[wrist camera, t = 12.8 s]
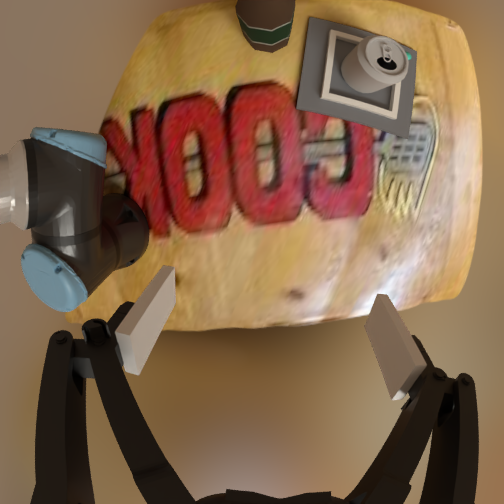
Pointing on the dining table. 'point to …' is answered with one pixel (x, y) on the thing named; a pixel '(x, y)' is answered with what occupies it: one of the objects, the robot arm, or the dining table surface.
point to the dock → (340, 93)
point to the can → (375, 64)
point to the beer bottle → (266, 22)
